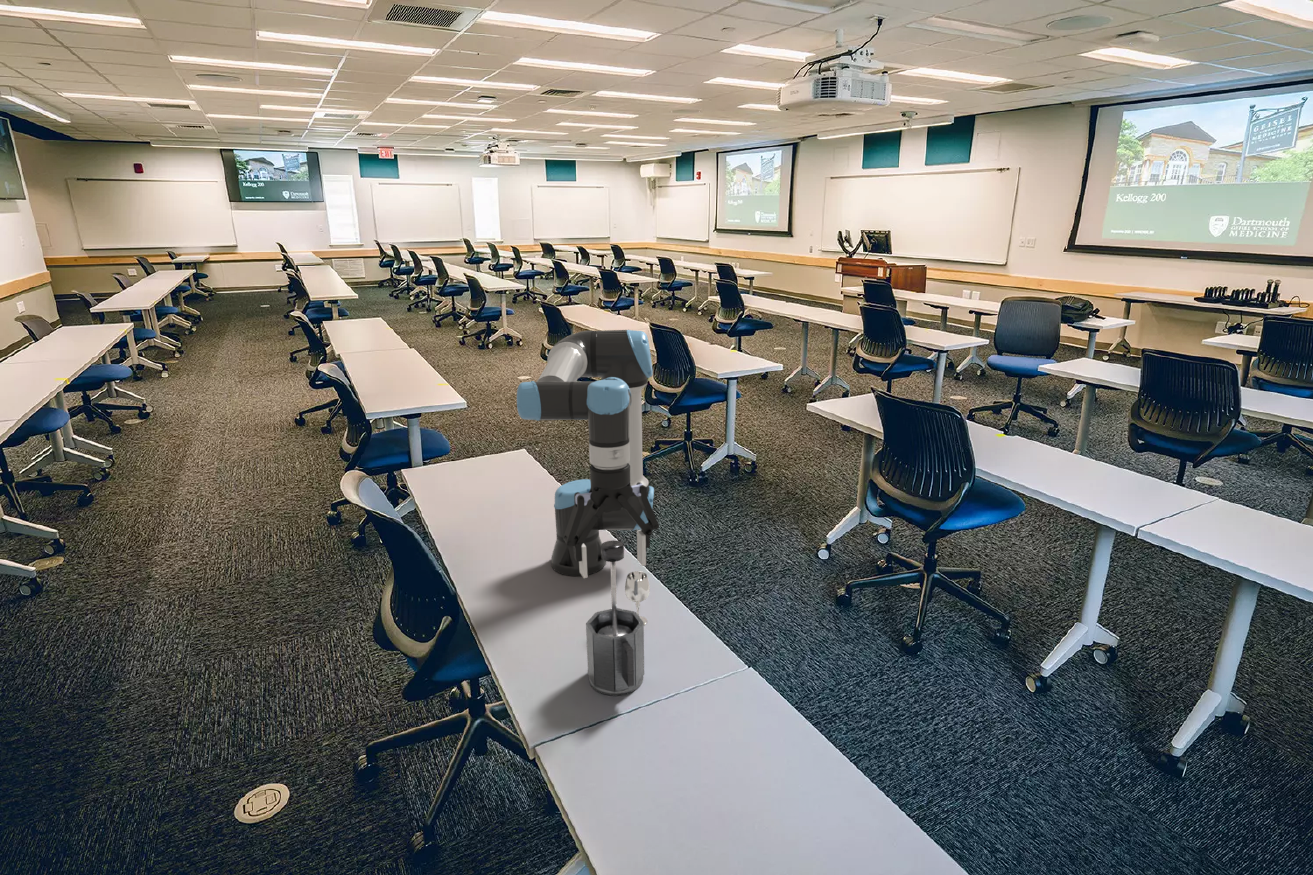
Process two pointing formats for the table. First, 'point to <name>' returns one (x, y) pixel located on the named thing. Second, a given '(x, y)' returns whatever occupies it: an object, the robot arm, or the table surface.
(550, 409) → the robot arm
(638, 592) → the wineglass
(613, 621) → the plunger
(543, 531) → the table surface
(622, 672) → the octagonal container
